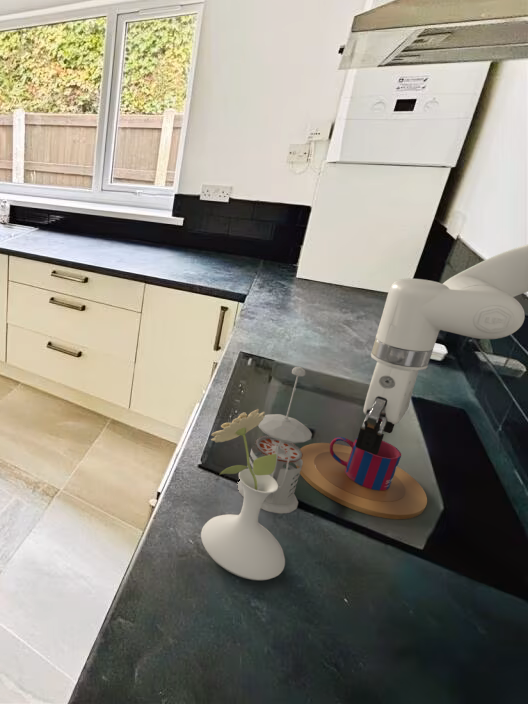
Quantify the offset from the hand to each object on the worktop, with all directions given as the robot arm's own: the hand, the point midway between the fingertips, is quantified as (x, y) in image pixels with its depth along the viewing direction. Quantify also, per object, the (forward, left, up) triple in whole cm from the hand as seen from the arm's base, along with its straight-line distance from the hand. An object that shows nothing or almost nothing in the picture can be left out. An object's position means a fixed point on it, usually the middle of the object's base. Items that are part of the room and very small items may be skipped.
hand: (373, 439), depth 82 cm
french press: (+10, +18, -9) cm, 22 cm away
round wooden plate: (+1, 0, -9) cm, 9 cm away
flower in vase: (+8, +35, -9) cm, 37 cm away
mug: (+1, 0, -8) cm, 8 cm away
